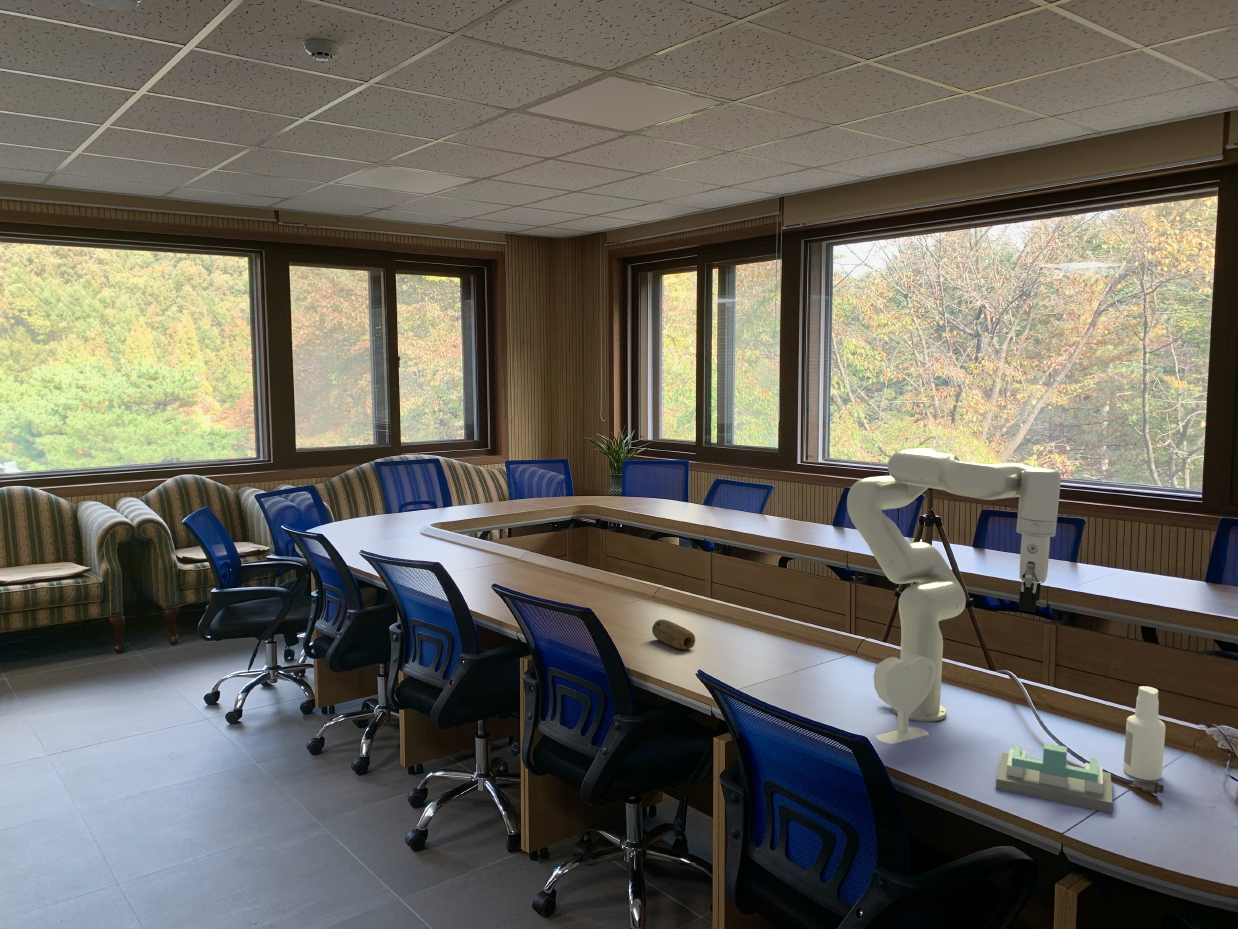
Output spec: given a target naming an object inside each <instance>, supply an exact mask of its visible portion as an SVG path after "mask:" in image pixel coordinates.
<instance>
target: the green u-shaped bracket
mask: <svg viewBox="0 0 1238 929" xmlns="http://www.w3.org/2000/svg"><path fill="white" fill-rule="evenodd" d="M1013 749H1014V752H1013V756H1012V766H1016V767H1021V768H1026V769H1031V770H1036V771H1041V772H1042V773H1044V774H1049V775H1054V776H1059V777H1064V778H1065V776H1066V777H1071V778H1077V779H1082V780H1087V781H1092V782H1098V766H1097V765H1098V759H1097V758H1093V757H1090V759H1089V760H1090V761H1089V763H1090V770H1089V769H1083V768H1084V767H1080V768H1078V767H1079V766H1075V767H1073V766H1074V765H1070V766H1068V765H1069V764H1067V755H1068V747H1067V746H1063V745H1058V744H1053V743H1046V742H1044V743H1043V754H1042V759H1039V760H1037V759H1038V758H1034V759H1031V758H1032V757H1029V758H1026V757H1027V756H1026V757H1021V756H1020V754H1021V750H1022V744H1020V743H1019V744H1018V743H1014V746H1013ZM1042 760H1043V761H1042Z"/></svg>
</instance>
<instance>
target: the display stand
mask: <svg viewBox="0 0 1238 929" xmlns="http://www.w3.org/2000/svg"><path fill="white" fill-rule="evenodd" d="M1013 752H1014V748H1011V747H1010V748H1009V752H1008V753H1007V752H1002V753H1001V756H1000V760H999V765H998V769H997V775H996V779H995V789H996V790H1001V791H1006V792H1010V793H1016V794H1020V795H1024V796H1029V797H1035V798H1039V799H1044V800H1049V801H1053V802H1058V803H1062V804H1068V805H1072V806H1076V807H1082V808H1085V809H1091V810H1096V811H1100V812H1106V813H1110V814H1112V813H1113V792H1112V791H1113V790H1112V789H1113V788H1112V777H1111V776H1112V774H1111V773H1110V772H1106V771H1104V770H1103V765H1099V764H1097V766H1098V782H1092V781H1087V780H1082V779H1077V778H1071V777H1066V776H1065V778H1064V777H1059V776H1054V775H1049V774H1044V773H1042V772H1041V771H1036V770H1031V769H1026V768H1021V767H1016V766H1012V756H1013ZM1020 756H1021V757H1026V758H1031V759H1035V758H1032V757H1028V756H1027V751H1026V750H1022V749H1021V754H1020ZM1036 759H1037V760H1040V759H1038V758H1036ZM1041 760H1042V761H1043V759H1041ZM1067 765H1068V766H1071V765H1070V764H1067ZM1072 766H1073V767H1076V766H1075V765H1072ZM1077 767H1078V768H1081V767H1080V766H1077ZM1082 768H1083V769H1089V770H1090V762H1089V763H1088V762H1085V764H1084V767H1082Z"/></svg>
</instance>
